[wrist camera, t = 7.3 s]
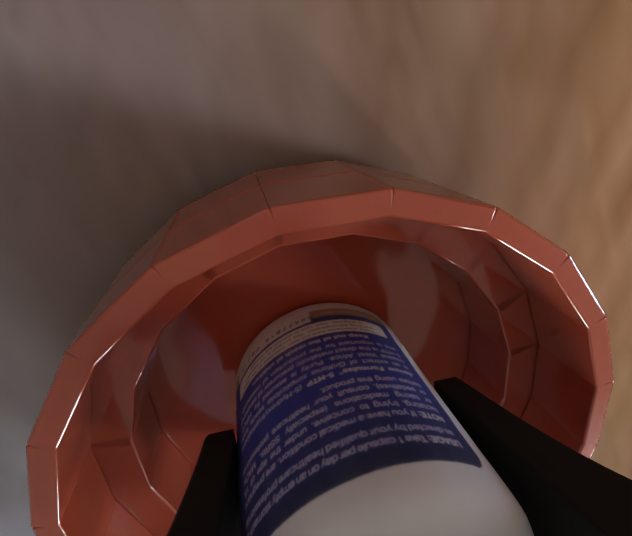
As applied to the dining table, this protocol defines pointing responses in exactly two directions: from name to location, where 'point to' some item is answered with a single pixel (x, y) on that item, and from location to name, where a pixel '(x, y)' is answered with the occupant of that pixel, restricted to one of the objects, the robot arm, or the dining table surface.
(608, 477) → the robot arm
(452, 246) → the bowl
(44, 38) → the dining table surface
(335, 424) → the pill bottle
